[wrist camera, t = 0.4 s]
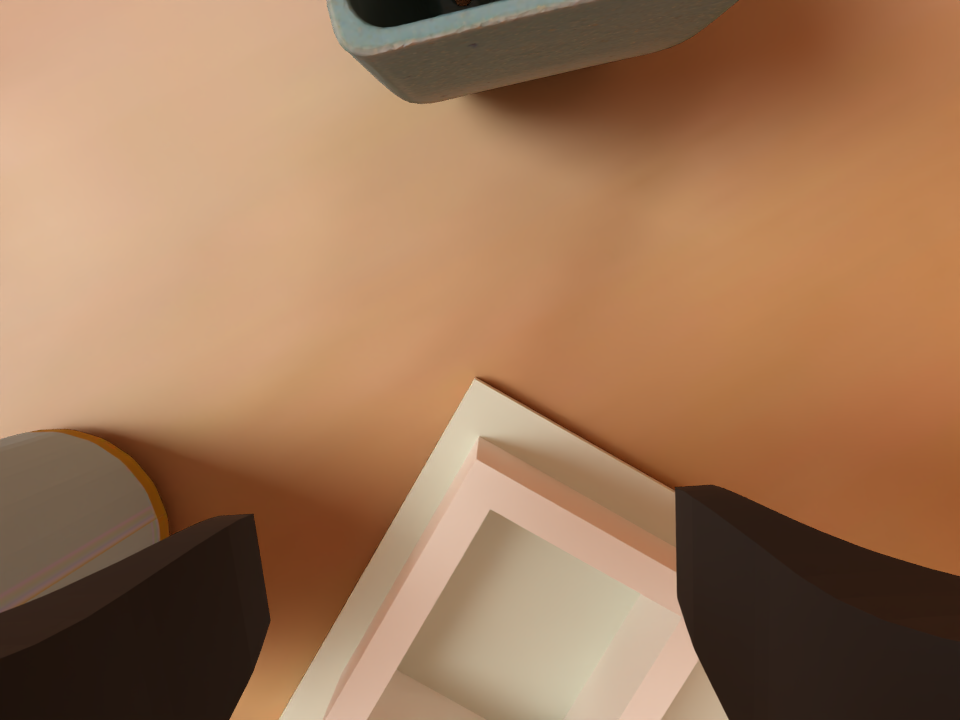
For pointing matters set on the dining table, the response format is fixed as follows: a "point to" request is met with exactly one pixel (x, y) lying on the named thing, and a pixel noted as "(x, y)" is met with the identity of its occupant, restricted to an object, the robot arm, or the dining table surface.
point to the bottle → (69, 511)
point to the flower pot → (504, 38)
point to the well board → (515, 589)
